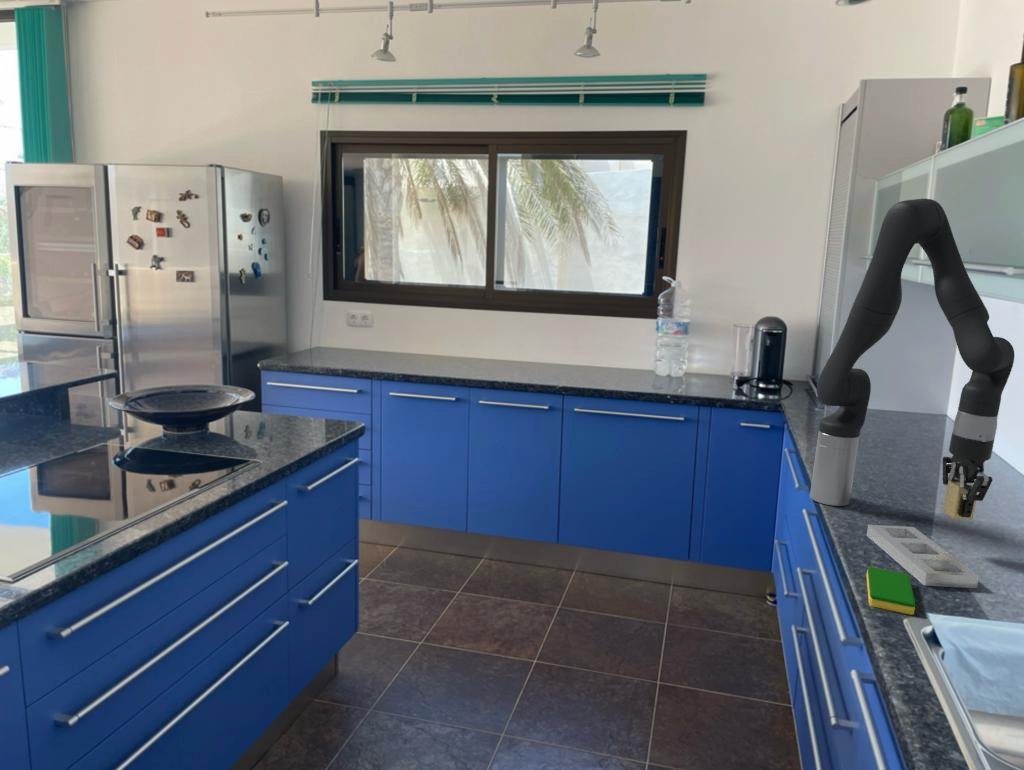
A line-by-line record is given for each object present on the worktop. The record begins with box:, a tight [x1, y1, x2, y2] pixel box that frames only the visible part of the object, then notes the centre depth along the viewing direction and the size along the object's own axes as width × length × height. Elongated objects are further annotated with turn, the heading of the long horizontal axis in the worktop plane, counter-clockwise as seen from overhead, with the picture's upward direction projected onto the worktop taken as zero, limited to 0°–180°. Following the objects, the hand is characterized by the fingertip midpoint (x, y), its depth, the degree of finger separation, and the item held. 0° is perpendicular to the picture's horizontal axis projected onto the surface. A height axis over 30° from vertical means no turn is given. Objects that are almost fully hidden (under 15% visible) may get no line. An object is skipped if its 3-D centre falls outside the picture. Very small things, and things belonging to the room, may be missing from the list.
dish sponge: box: [865, 566, 916, 616], centre depth 139 cm, size 7×14×2 cm, turn 157°
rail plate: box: [866, 524, 980, 589], centre depth 155 cm, size 24×10×2 cm, turn 0°
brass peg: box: [942, 480, 979, 521], centre depth 159 cm, size 4×4×7 cm
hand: (958, 511), depth 159 cm, fingers closed on brass peg, 4 cm apart
